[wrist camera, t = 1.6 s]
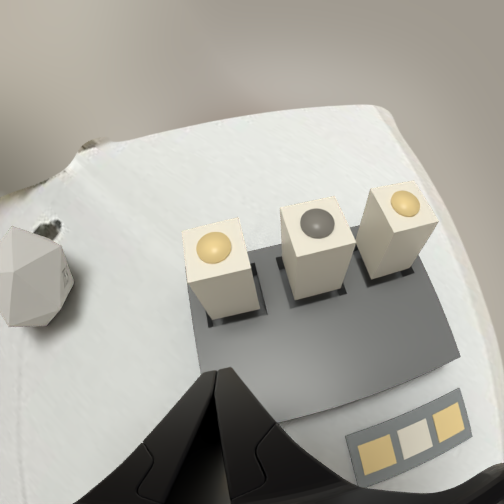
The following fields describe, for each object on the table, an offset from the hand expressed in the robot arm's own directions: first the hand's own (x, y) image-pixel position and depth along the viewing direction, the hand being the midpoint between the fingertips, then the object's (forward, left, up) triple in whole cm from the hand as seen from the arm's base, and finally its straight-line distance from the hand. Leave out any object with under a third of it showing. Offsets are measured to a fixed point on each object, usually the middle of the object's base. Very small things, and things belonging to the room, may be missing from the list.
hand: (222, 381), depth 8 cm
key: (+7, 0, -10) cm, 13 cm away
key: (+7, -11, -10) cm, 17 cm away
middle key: (+7, -5, -10) cm, 14 cm away
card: (-6, -10, -14) cm, 18 cm away
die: (+12, +18, -14) cm, 26 cm away
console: (+4, -5, -14) cm, 15 cm away
